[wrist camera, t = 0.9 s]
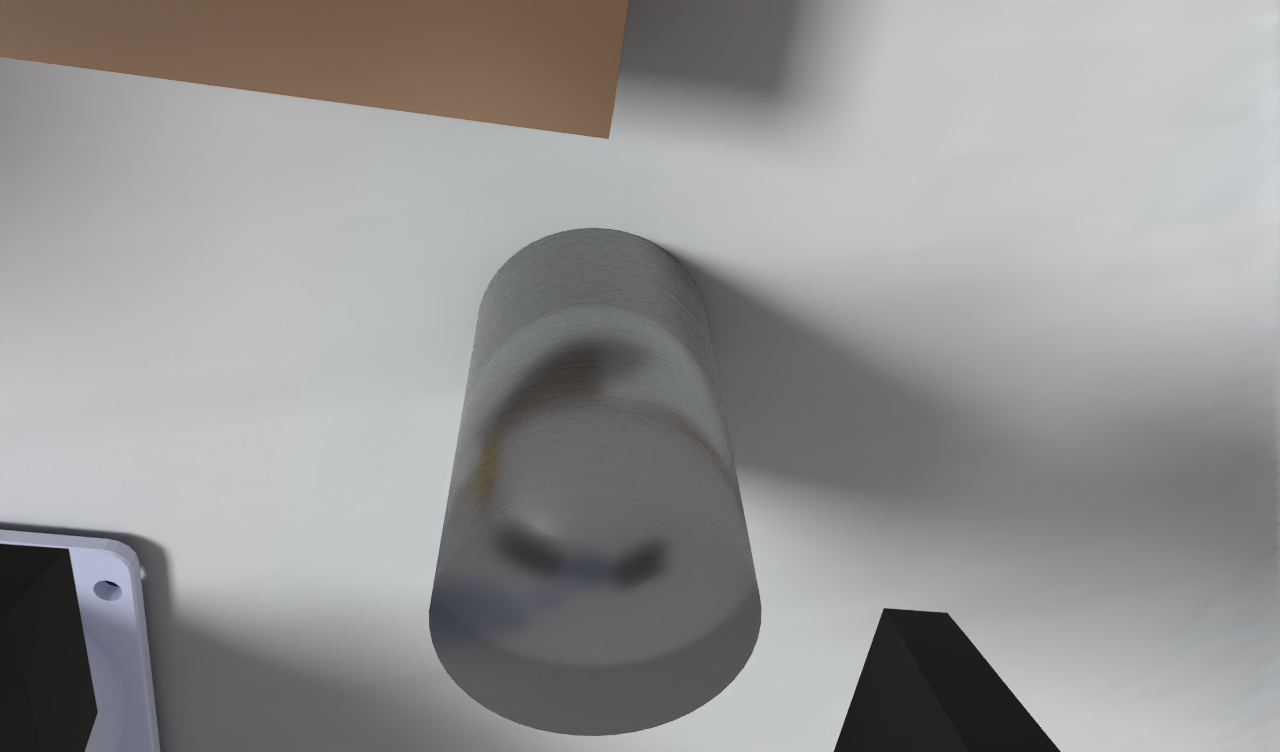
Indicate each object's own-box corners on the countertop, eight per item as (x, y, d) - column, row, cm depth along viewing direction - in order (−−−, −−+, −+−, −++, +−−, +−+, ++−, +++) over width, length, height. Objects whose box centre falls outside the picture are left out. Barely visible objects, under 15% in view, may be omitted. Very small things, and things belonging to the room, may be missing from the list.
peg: (685, 437, 20) (726, 745, 15) (469, 415, 20) (420, 723, 14) (727, 243, 18) (794, 512, 12) (486, 213, 18) (439, 478, 12)
